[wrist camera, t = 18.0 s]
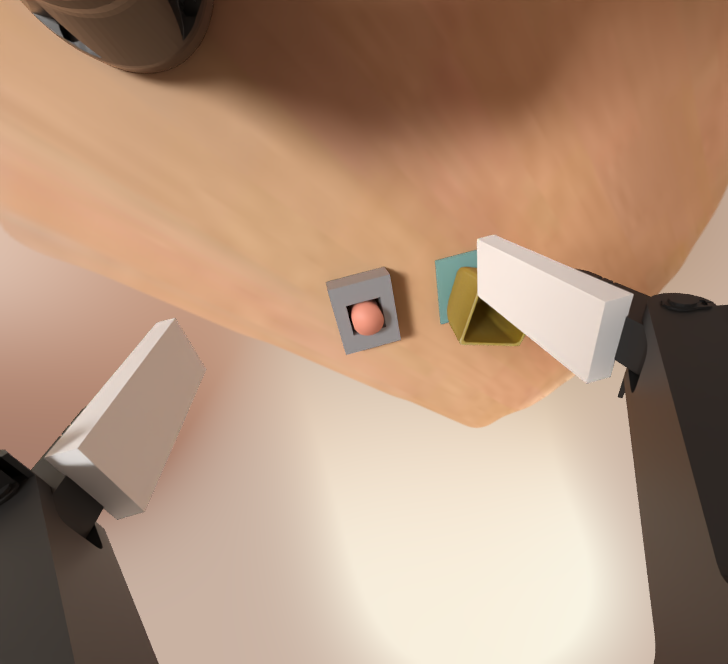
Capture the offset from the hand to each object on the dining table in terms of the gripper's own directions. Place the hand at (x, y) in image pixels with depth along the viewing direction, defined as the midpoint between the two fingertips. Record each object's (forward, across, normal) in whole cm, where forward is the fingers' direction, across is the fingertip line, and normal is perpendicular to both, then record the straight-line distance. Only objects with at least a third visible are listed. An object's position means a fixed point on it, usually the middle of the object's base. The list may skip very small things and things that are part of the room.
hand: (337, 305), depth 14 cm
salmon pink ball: (+26, +3, -14) cm, 30 cm away
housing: (+27, +3, -14) cm, 30 cm away
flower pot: (+26, +18, -15) cm, 36 cm away
